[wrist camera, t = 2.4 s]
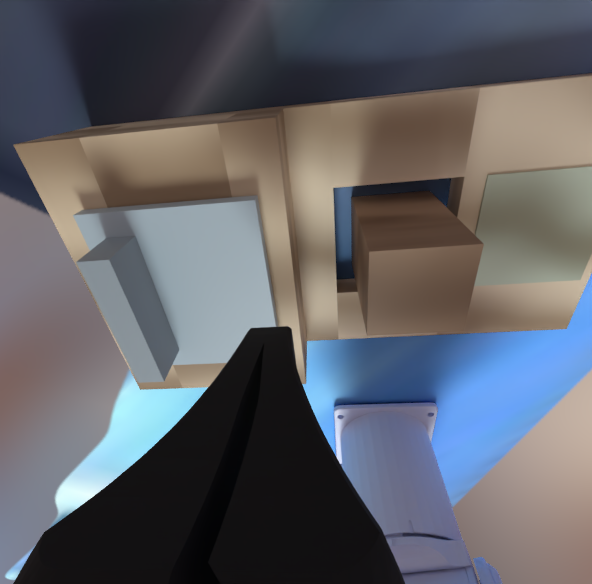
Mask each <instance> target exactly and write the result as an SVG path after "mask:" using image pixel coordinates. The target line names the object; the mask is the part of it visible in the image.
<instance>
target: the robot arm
mask: <svg viewBox="0 0 592 584" xmlns="http://www.w3.org/2000/svg"><path fill="white" fill-rule="evenodd" d="M437 412H438V408H437V405H436V404H435V403H397V404H362V405H338V406H336V407H335V408H334V421H335V440H336V456H335V454H334V452H333V450H332V449H331V447H330V445H329V443H328V441H327V439H326V437H325V435H324V433H323V431H322V429H321V427H320V425H319V423H318V421H317V419H316V417H315V415H314V413H313V410H312V408H311V406H310V403H309V401H308V398H307V396H306V393H305V391H304V388H303V385H302V382H301V379H300V376H299V373H298V370H297V365H296V358H295V350H294V343H293V335H292V329H291V328H290V327H288V326H280V327H260V328H251V329H250V330H249V331H248V332H247V334H246V335H245V337H244V338H243V340H242V341H241V343H240V344H239V346H238V348H237V349H236V350H235V352H234V353H233V355H232V356H231V358H230V359H229V361H228V362H227V363H226V365H225V366H224V368H223V369H222V370H221V372H220V373H219V374H218V376H217V377H216V378H215V380H214V381H213V382H212V383H211V385H210V386H209V387H208V388H207V390H206V391H205V392H204V393H203V395H202V396H201V397H200V398H199V399H198V401H197V402H196V403H195V404H194V405H193V406H192V407H191V409H190V410H189V411H188V412H187V413H186V414H185V415H184V416H183V417H182V418H181V419H180V420H179V422H178V423H177V424H176V425H175V426H174V427H173V428H172V429H171V430H170V431H169V432H168V433H167V434H166V435H165V436H164V437H163V438H161V439H160V440H159V441H158V442H157V443H156V444H155V445H154V446H153V447H152V448H151V449H150V450H149V451H148V452H147V453H146V454H144V455H143V456H142V457H141V458H140V459H139V460H138V461H137V462H135V463H134V464H133V465H132V466H131V467H129V468H128V469H127V470H126V471H125V472H123V473H122V474H121V475H120V476H119V477H117V478H116V479H115V480H114V481H113V482H111V483H110V484H109V485H108V486H106V487H105V488H104V489H103V490H101V491H100V492H99V493H97V494H96V495H95V496H94V497H92V498H91V499H90V500H88V501H87V502H85V503H84V504H83V505H81V506H80V507H79V508H77V509H76V510H75V511H73V512H72V513H70V514H69V515H68V516H66V517H65V518H64V519H62V520H61V521H59V522H58V523H57V524H55V525H54V526H53V527H51V528H50V529H48V530H47V531H45V532H44V534H43V535H42V537H41V538H40V540H39V541H38V543H37V544H36V546H35V548H34V549H33V551H32V552H31V554H30V556H29V557H28V559H27V561H26V563H25V564H24V566H23V568H22V570H21V571H20V573H19V575H18V577H17V578H16V580H15V582H14V583H13V584H479V583H478V580H477V576H476V574H475V570H474V567H473V565H472V562H471V559H470V556H469V554H468V551H467V548H466V545H465V543H464V541H463V540H462V537H461V534H460V531H459V528H458V524H457V521H456V518H455V516H454V512H453V509H452V506H451V503H450V500H449V497H448V494H447V491H446V487H445V484H444V481H443V478H442V475H441V472H440V469H439V466H438V463H437V460H436V457H435V454H434V451H433V447H432V444H431V440H432V435H433V431H434V426H435V421H436V416H437ZM474 563H475V566H476V569H477V572H478V575H479V578H480V580H479V581H480V584H503V583H502V581H501V578H500V576H499V574H498V572H497V570H496V569H495V568H494V567H493V566H491V565H490V564H488V563H486V561H485V559H484V558H482V557H478V558H474Z"/></svg>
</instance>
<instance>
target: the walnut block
mask: <svg viewBox="0 0 592 584" xmlns="http://www.w3.org/2000/svg"><path fill="white" fill-rule="evenodd" d="M351 217H352V267H353V272H354V277H355V281H356V286H357V291H358V296H359V300H360V305H361V310H362V314H363V319H364V324H365V329H366V333H367V336H370V335H392V334H413V333H435V332H456V331H464V328H465V323H466V319H467V315H468V310H469V306H470V302H471V297H472V293H473V289H474V285H475V280H476V276H477V272H478V267H479V263H480V259H481V254H482V250H483V246H484V244H483V243H482V242H481V241H480V240H479V239H478V238H477V237H476V236H475V235H474V234H473V233H472V232H471V231H470V230H469V229H468V228H467V227H466V226H465V225H464V224H463V223H462V222H461V221H460V220H459V219H458V218H457V217H456V216H455V215H454V214H453V213H452V212H451V211H450V210H449V209H448V208H447V207H446V206H445V205H444V204H443V203H442V202H441V201H440V200H439V199H438V198H437V197H435V196H434V195H433V194H432V193H431V192H430V191H418V192H405V193H393V194H381V195H369V196H357V197H351Z"/></svg>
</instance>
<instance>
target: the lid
mask: <svg viewBox="0 0 592 584" xmlns="http://www.w3.org/2000/svg"><path fill="white" fill-rule="evenodd" d="M73 216H74V219H75V221H76V223H77V225H78V227H79V229H80V231H81V233H82V235H83V237H84V239H85V242H86V244H87V246H88V248H89V250H90V251H89V252H88V253H87V254H85V255H84V256H83V257H82V258H80V259H79V260H78V261H77V262H76V263H77V265H78V267H79V269H80V271H81V273H82V275H83V277H84V279H85V281H86V283H87V285H88V287H89V289H90V290H91V292H92V294H93V296H94V298H95V300H96V302H97V304H98V306H99V308H100V310H101V312H102V314H103V316H104V318H105V320H106V322H107V323H108V325H109V327H110V329H111V331H112V333H113V335H114V337H115V339H116V341H117V343H118V345H119V347H120V349H121V351H122V353H123V355H124V356H125V358H126V360H127V362H128V364H129V366H130V368H131V370H132V372H133V374H134V376H135V378H136V380H137V382H138V383H142V382H164V381H165V379H166V377H167V375H168V373H169V371H170V369H171V367H172V365H188V364H213V363H227V362H228V361H229V359H230V358H231V356H232V355H233V353H234V352H235V350H236V349H237V348H238V346H239V344H240V343H241V341H242V340H243V338H244V337H245V335H246V334H247V332H248V331H249V330H250V329H251V328H260V327H278V321H277V315H276V308H275V302H274V296H273V290H272V283H271V277H270V271H269V265H268V258H267V252H266V246H265V239H264V233H263V227H262V221H261V214H260V208H259V202H258V196H257V195H253V196H241V197H230V198H218V199H206V200H194V201H182V202H170V203H159V204H147V205H135V206H123V207H111V208H99V209H88V210H81V211H80V212H78V213H76V214H74V215H73Z"/></svg>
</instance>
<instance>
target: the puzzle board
mask: <svg viewBox="0 0 592 584" xmlns="http://www.w3.org/2000/svg"><path fill="white" fill-rule="evenodd" d="M14 147H15V149H16V151H17V153H18V155H19V157H20V158H21V160H22V162H23V164H24V166H25V168H26V170H27V172H28V174H29V176H30V178H31V180H32V182H33V184H34V185H35V187H36V189H37V191H38V193H39V195H40V197H41V199H42V201H43V203H44V205H45V207H46V209H47V211H48V212H49V214H50V216H51V218H52V220H53V222H54V224H55V226H56V228H57V230H58V232H59V233H60V235H61V237H62V239H63V241H64V243H65V245H66V247H67V249H68V251H69V253H70V255H71V257H72V259H73V260H74V262H75V264H76V266H77V268H78V270H79V272H80V274H81V276H82V278H83V280H84V282H85V284H86V286H87V288H88V290H89V291H90V293H91V295H92V297H93V299H94V301H95V303H96V305H97V307H98V309H99V311H100V313H101V314H102V312H101V310H100V308H99V306H98V304H97V302H96V300H95V298H94V296H93V294H92V292H91V290H90V289H89V287H88V285H87V283H86V281H85V279H84V277H83V275H82V273H81V271H80V269H79V267H78V265H77V263H76V262H77V261H78V260H79V259H80V258H82V257H83V256H84V255H85V254H87V253H88V252H89V251H90V250H89V248H88V246H87V244H86V242H85V239H84V237H83V235H82V233H81V231H80V229H79V227H78V225H77V223H76V221H75V219H74V216H73V215H74V214H76V213H78V212H80V211H81V210H88V209H99V208H111V207H123V206H135V205H147V204H159V203H170V202H182V201H194V200H206V199H218V198H230V197H241V196H253V195H257V196H258V202H259V208H260V214H261V221H262V227H263V233H264V239H265V246H266V252H267V258H268V265H269V271H270V277H271V283H272V290H273V296H274V302H275V308H276V315H277V321H278V327H280V326H288V327H290V328H291V329H292V335H293V343H294V350H295V358H296V365H297V370H298V373H299V376H300V379H301V382H302V384H306V360H307V341H314V340H336V339H357V338H379V337H401V336H423V335H444V334H466V333H488V332H510V331H531V330H553V329H567V326H568V324H569V322H570V320H571V317H572V315H573V313H574V311H575V309H576V306H577V304H578V302H579V300H580V297H581V295H582V293H583V291H584V289H585V286H586V284H587V282H588V280H589V277H590V275H591V273H592V73H588V74H579V75H569V76H560V77H551V78H541V79H532V80H522V81H513V82H504V83H494V84H485V85H476V86H466V87H457V88H448V89H438V90H429V91H420V92H410V93H401V94H392V95H382V96H373V97H364V98H354V99H345V100H336V101H326V102H317V103H307V104H298V105H289V106H279V107H270V108H261V109H251V110H242V111H233V112H223V113H214V114H205V115H195V116H186V117H177V118H167V119H158V120H149V121H139V122H130V123H121V124H111V125H102V126H93V127H87V128H83V129H79V130H75V131H70V132H66V133H62V134H57V135H53V136H49V137H45V138H40V139H36V140H32V141H28V142H23V143H19V144H15V145H14ZM444 178H451V184H450V191H449V197H448V203H447V208H448V209H449V210H450V211H451V212H452V213H453V214H454V215H455V216H456V217H457V218H458V219H459V220H460V221H461V222H462V223H463V224H464V225H465V226H466V227H467V228H468V229H469V230H470V231H471V232H472V233H473V234H474V235H475V236H476V237H477V238H478V239H479V240H480V241H481V242H482V243H483V244H484V246H483V250H482V254H481V259H480V263H479V267H478V272H477V276H476V280H475V285H474V289H473V293H472V297H471V302H470V306H469V310H468V315H467V319H466V323H465V328H464V331H456V332H435V333H413V334H392V335H370V336H367V333H366V329H365V324H364V319H363V314H362V310H361V305H360V300H359V296H358V291H357V286H356V281H355V278H353V279H337V280H336V251H335V222H334V192H333V188H337V187H349V186H361V185H373V184H385V183H396V182H408V181H420V180H432V179H444ZM102 317H103V318H104V316H103V314H102ZM104 320H105V318H104ZM105 322H106V320H105ZM106 324H107V326H108V328H109V330H110V332H111V334H112V336H113V338H114V340H115V341H116V339H115V337H114V335H113V333H112V331H111V329H110V327H109V325H108V323H107V322H106ZM116 344H117V346H118V347H119V345H118V343H117V341H116ZM119 349H120V347H119ZM120 351H121V349H120ZM121 353H122V351H121ZM122 355H123V353H122ZM123 357H124V359H125V361H126V363H127V365H128V367H129V369H130V371H131V373H132V374H133V372H132V370H131V368H130V366H129V364H128V362H127V360H126V358H125V356H124V355H123ZM225 365H226V363H213V364H188V365H172V367H171V369H170V371H169V373H168V375H167V377H166V379H165V381H164V382H142V383H138V382H137V380H136V378H135V376H134V374H133V376H134V378H135V380H136V382H137V384H138V386H139V388H140V389H169V388H198V387H209V386H210V385H211V383H212V382H213V381H214V380H215V378H216V377H217V376H218V374H219V373H220V372H221V370H222V369H223V368H224V366H225Z"/></svg>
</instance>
